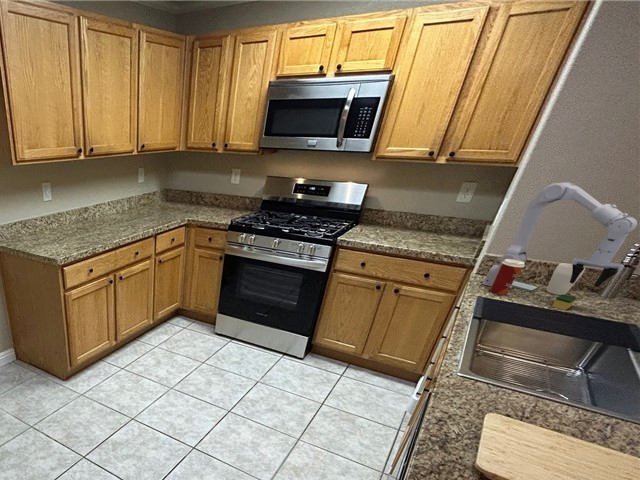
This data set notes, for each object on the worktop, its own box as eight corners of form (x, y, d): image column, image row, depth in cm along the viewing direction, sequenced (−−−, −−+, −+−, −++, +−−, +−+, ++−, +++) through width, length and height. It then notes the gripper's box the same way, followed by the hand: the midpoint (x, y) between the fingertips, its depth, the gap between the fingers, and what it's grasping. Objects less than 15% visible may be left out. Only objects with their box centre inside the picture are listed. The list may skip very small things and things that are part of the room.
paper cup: (508, 297, 179) (526, 265, 171) (486, 292, 183) (503, 261, 175) (508, 292, 184) (525, 261, 177) (487, 288, 188) (503, 257, 180)
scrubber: (565, 310, 169) (571, 300, 166) (551, 306, 172) (557, 297, 169) (570, 306, 172) (576, 297, 170) (556, 303, 175) (562, 294, 173)
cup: (564, 291, 188) (581, 265, 181) (571, 297, 181) (589, 270, 174) (540, 287, 191) (555, 261, 184) (545, 293, 184) (562, 267, 178)
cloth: (502, 283, 194) (503, 282, 193) (508, 281, 197) (509, 279, 197) (530, 291, 186) (531, 290, 186) (537, 288, 190) (537, 286, 190)
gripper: (585, 250, 158) (563, 284, 166) (636, 256, 153) (611, 291, 161) (579, 245, 164) (558, 279, 171) (627, 251, 158) (604, 285, 166)
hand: (583, 284), depth 166 cm, fingers open, 7 cm apart
